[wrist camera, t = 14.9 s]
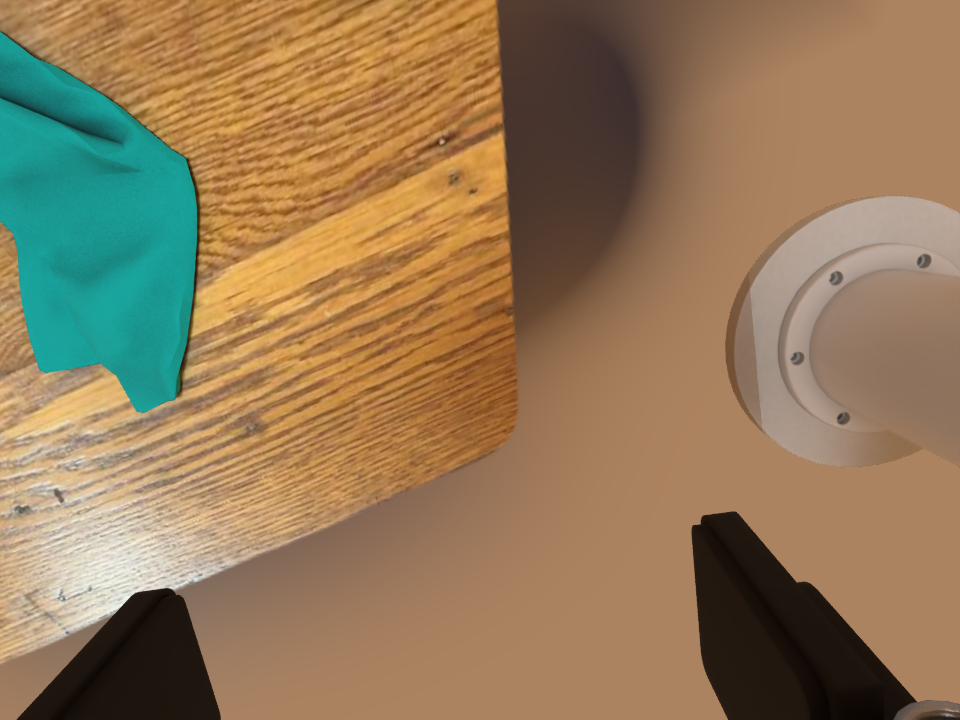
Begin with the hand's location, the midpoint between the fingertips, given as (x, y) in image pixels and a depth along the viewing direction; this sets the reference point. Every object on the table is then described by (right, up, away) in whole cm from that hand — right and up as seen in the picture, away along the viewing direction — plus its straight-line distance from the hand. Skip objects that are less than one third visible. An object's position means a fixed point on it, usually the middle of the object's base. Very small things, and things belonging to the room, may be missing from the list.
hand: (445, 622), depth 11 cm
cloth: (-23, +14, +25) cm, 36 cm away
